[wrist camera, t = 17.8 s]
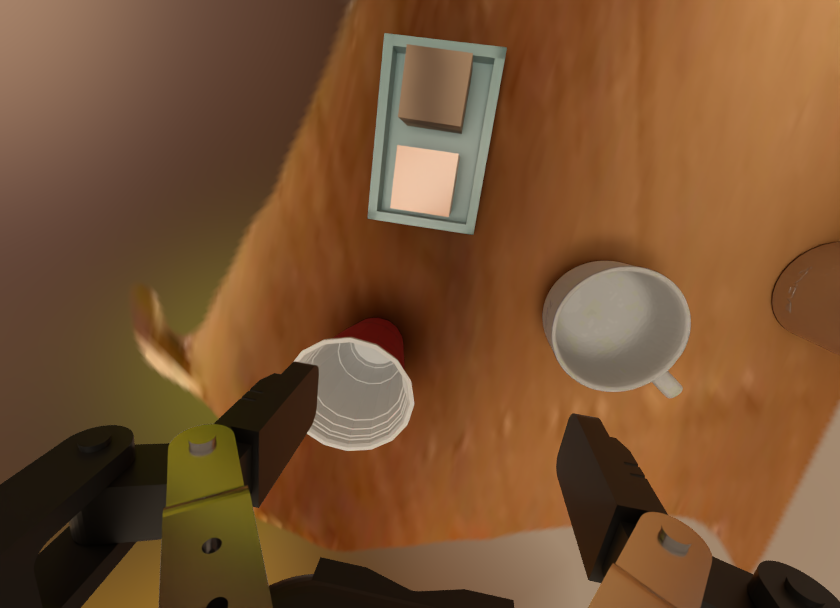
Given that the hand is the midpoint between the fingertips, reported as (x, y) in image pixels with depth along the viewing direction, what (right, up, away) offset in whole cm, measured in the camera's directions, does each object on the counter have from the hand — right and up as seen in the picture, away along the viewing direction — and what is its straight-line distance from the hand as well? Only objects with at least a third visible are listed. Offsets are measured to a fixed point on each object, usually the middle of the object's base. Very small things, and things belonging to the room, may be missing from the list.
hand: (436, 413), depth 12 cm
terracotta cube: (0, +15, +24) cm, 28 cm away
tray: (+1, +18, +24) cm, 30 cm away
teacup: (+18, +2, +27) cm, 32 cm away
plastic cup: (-5, -1, +31) cm, 31 cm away
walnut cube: (+1, +22, +22) cm, 31 cm away
